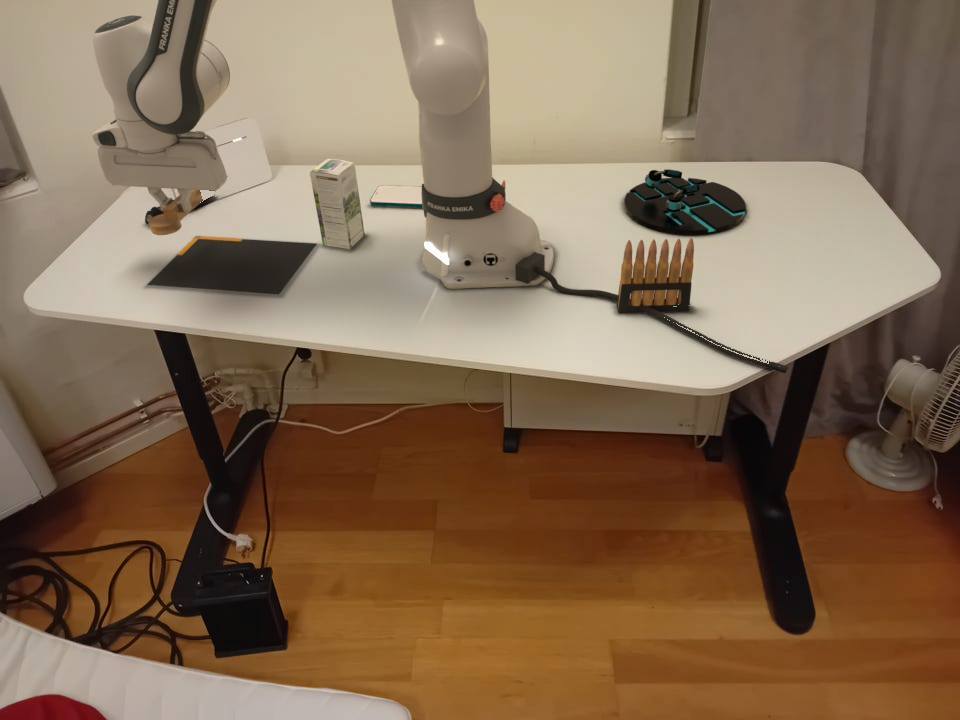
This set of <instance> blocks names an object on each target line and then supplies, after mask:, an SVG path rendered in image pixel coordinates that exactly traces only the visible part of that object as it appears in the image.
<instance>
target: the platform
mask: <svg viewBox="0 0 960 720" xmlns="http://www.w3.org/2000/svg"><path fill="white" fill-rule="evenodd" d="M644 181H645V182H642V183H640V184H637V185H635V186H634V187H632V188H631V189H630V190H629V192H626V195H625V196H624V199H623V200H624V202H623V209H624V211H625V213H626V215H627V217H629V218H630V219H631V220H632V221H633V222H635V223H636V224H638V225H640V226H642V227H644V228H647V229H649V230H652V231H656V232H657V233H658V232H659V233H664V234H669V235H677V236H706V235H707V236H708V235H713V234H717V233H722V232H725V231H727V230H730V229H732V228H734V227H736V226H738V224H739V223H741V222H742V220H743V219H744V217H745V214H746V208H747V204H746V202H745V199H744V198H743V197H742V196H741V194H739V193H738V192H736V191H735V190H734V189H731V188H730V187H728V186H726V185H723V184H721V183H719V182H715V181H710V182H708V181H707V180H706V179H702V178H701V179H700V178H693V177H688V178H687V180H686V179H685V178H683V171H680V170H676V169H671V168H670V169H666V168H665V169H663V170H656V169H651V170H650V171H649V172H648V174H646V175H645V177H644Z"/></svg>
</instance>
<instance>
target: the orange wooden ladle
mask: <svg viewBox="0 0 960 720" xmlns="http://www.w3.org/2000/svg"><path fill="white" fill-rule="evenodd" d="M181 198H182V194H178V195H177V196H176V197H175V198H174V199H173V201H172V202H171V203H170V204H168V205H167V206H166V207H165V208H164V209H163V213H164V214H161V215H157V216H155V217H153V218H152V219H150V221H149V225H148V227H149V230H150V232H151V234H153V235H156V236H168V235H171V234H174V233H177V232H178V231H179V230H181V228H182V226H183V225H182V220H184V218H185V217H186V216H187V215H189V214H190V212H192V211H193V210H194V209H195V208H197V207H198V206H197V205H198V204H199V203H200V202H202V201H203V199H202V196H201V192H200V190H192V193H191V197H190V199H189V200H190V203H191V207H192V208H191V210H190V211H189V212H179V210H178V207H177V205H176V203H177V202H178V201H179V200H180V199H181ZM196 206H197V207H196Z"/></svg>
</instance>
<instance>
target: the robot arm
mask: <svg viewBox="0 0 960 720" xmlns="http://www.w3.org/2000/svg"><path fill="white" fill-rule="evenodd" d="M217 1H218V0H158V1H157V5H156V10H155V15H154V19H153V23H152V22H150V21H149V20H148V19H146V18H145V16H142V15H126V16H123V17H118V18H115V19H114V20H111V21H108V22H106V23H104V24H102V25H101V26H99V27H98V28H97V29H96V30H95V31H94V33H93V36H92V37H93V38H92V43H93V50H94V55H95V60H96V64H97V66H98V70H99V73H100V76H101V79H102V82H103V85H104V88H105V90H106V92H107V93H108V94H109V96H110V97H111V100H112V104H113V114H114V117H115V119H113V120H111V121H109V122H107V123H105V124H104V125H103V126H100V128H98V129H97V130H95V131H94V132H93V133H92V135H91V136H92V140H93V142H94V143H95V145H96V146H98V148H97V156H98V157H97V158H98V161H99V165H100V167H101V170H102V174H103V175H104V178H105V180H106V181H108V183H109V184H111V185H112V186H113V187H135V188H147V191H148V194H149V195H150V196H152V198H154V200H155V201H156V202H157V203H158V205H159V206H160V207H161V210H162V211H163V209H164V208H165V207H166V206H167V205H168V204H170V203H171V202H172V201H173V200H174V199H173V197H168V196H167V195H166V193H165V192H164V191H163V190H162V189H173V190H177V194H178V195H180V194H182V198H181V199H180V200H179V201H178V202H177V203H176V205H177V207H178V210H179V212H189V211H190V210H191V208H192V207H191V203H190V200H189V199H190V197H191V193H192V190H209V191H215V192H217V191H218V190H220V189H221V188H222V187H223V186H224V185H225V183H226V182H227V180H228V175H227V171H226V168H225V165H224V163H223V160H222V158H221V156H220V153H219V151H218V147H217V143H216V141H215V139H214V138H212V137H211V136H210V135H208V134H207V133H206V132H205V131H201V130H196V131H192V130H193V129H195V127H196V126H197V125H198V123H199V122H200V121H201V119H202V117H203V116H204V115H205V114H206V113H207V112H208V111H209V110H210V109H211V108H212V106H213V105H215V103H216V102H217V101H218V100H219V99H220V98H221V97H222V96H223V94H224V93H225V92H226V90H227V89H228V87H229V84H230V80H231V72H230V67H229V65H228V62H227V59H226V57H225V56H224V54H223V53H222V52H221V50H220V49H219V48H218V47H217V46H216V45H214V44H213V43H212V42H210V41H208V40H207V39H206V35H207V30H208V27H209V24H210V19H211V15H212V12H213V10H214V7H215V5H216V3H217ZM391 5H392V10H393V16H394V20H395V25H396V30H397V34H398V40H399V43H400V48H401V53H402V57H403V61H404V66H405V69H406V73H407V78H408V82H409V85H410V88H411V91H412V94H413V96H414V98H415V99H416V101H417V105H418V140H419V150H420V161H421V170H422V171H421V172H422V179H423V180H422V181H423V183H422V184H421V186H422V193H421V196H422V207H423V208H422V210H423V216H424V218H425V239H424V246H423V247H424V249H423V253H422V258H421V264H422V268H423V269H424V270H425V271H426V272H427V273H428V274H430V275H432V276H433V277H436V278H438V279H439V281H440V282H441V283H442V284H443V286H444V287H445V288H446V289H450V290H451V289H453V290H454V289H479V288H481V289H482V288H508V287H531V286H537V285H539V284H541V283H543V281H545V280H547V281H549V282H550V284H551V286H552V288H553V289H554V290H555V291H557V292H559V293H561V294H564V295H570V296H580V297H600V298H603V299H608V300H610V301H614V302H617V300H618V294H616V293H614V292H613V293H612V292H608V291H605V290H600V289H573V288H567V287H565V286H563V285H561V284H559V283H558V280H557V278H556V277H555V276H554V275H552V274H551V272H552V269H553V266H554V262H555V261H554V260H555V259H554V258H555V254H554V249H553V246H552V245H551V243H550V242H549V241H548V240H546V239H541V237H540V232H539V231H540V230H539V228H538V225H537V223H536V221H535V220H534V218H533V217H531V216H529V215H527V214H526V213H524V212H523V211H521V210H520V209H518V208H517V207H516V206H514V205H512V204H511V203H510V202H508V201H507V200H506V196H507V195H506V180H505V179H504V180H503V181H502V183H501V184H500V183H499V182H498V181H497V180H496V179H495V178H494V177H493V160H492V159H493V157H492V135H491V133H492V132H491V130H492V129H491V99H490V95H491V94H490V66H489V63H490V62H489V42H488V35H487V32H486V30H485V27H484V26H483V24H482V22H481V21H480V20H479V18H478V16H477V11H476V6H475V0H391ZM190 212H191V211H190ZM190 212H189V213H190ZM629 306H630V305H629ZM640 306H645V305H643V304H641V305H640ZM641 310H642V311H643V312H646V313H645V314H648V315H649V316H652V317H654V318H656V319H658V320H660V321H661V322H664V323H665V324H668V325H669V326H671V327H673V328H675V329H677V330H678V331H680V332H683V333H684V334H687V335H688V336H690V337H692V338H694V339H696V340H698V341H700V342H701V343H703V344H705V345H707V346H710V347H711V348H713V349H715V350H718V351H720V352H722V353H724V354H727V355H728V356H730V357H734V358H736V359H738V360H740V361H741V360H742V361H745V362H747V363H750V364H754V365H756V366H760V367H763V368H767V369H771V370H774V371H776V372H780V373H783V374H786V373H787V371H788V369H789V366H788V365H785V364H782V363H779V362H775V361H772V362H770V361H771V360H769V364H767V363H768V361H767V363H763V362H760V361H761V360H760V358H761V357H758V356H755V355H752V354H749V353H746V352H743V351H741V350H738V349H735V348H733V349H731V348H732V347H730V346H728V345H726V346H725V344H723V343H721V342H719V341H717V340H715V339H713V338H711V337H709V336H707V335H705V334H704V333H701V332H700V331H698V330H696V329H694V328H692V327H690V328H689V326H688V325H686V326H685V324H684V323H682V322H680V321H678V320H676V319H674V318H672V317H671V316H669V315H667V314H666V313H664V312H659V311H657V310H655V309H653V308H651V307H647V306H645V307H642V308H641ZM664 317H665V318H664ZM667 319H668V320H667ZM669 320H670V321H669ZM673 322H674V323H673ZM679 322H680V323H679ZM676 323H677V324H678V325H680V326H683V327H684V328H686V329H687V328H688V329H689V330H692V332H695V334H694V333H692V332H690V331H688V330H686V329H684V328H682V327H680V326H678V325H677V324H676ZM681 323H682V324H681ZM687 326H688V327H687ZM691 328H692V329H691ZM693 329H694V330H693ZM696 334H698V335H699V336H698V335H696ZM700 336H703V337H704V338H706V339H707V340H709V341H712V342H713V343H715V344H717V345H720V346H721V345H722V346H721V347H720V346H717V345H715V344H713V343H711V342H709V341H707V340H705V339H704V338H702V337H700ZM708 337H709V338H708ZM716 341H717V342H716ZM718 342H719V343H718ZM727 346H728V347H727ZM722 347H725V348H727V349H730V350H732V351H735V352H737V353H739V354H742V355H743V354H744V355H747V356H749V357H752V356H753V358H756V359H758V360H760V361H757V360H754V359H750V358H747V357H744V356H742V355H739V354H736V353H734V352H731V351H729V350H726V349H724V348H722ZM737 350H738V351H737ZM742 352H743V353H742ZM745 353H746V354H745ZM748 354H749V355H748ZM751 355H752V356H751ZM754 356H755V357H754ZM757 357H758V358H757ZM763 359H764V358H762V360H763ZM766 360H767V359H765V361H766ZM779 366H780V367H779Z"/></svg>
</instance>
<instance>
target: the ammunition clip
mask: <svg viewBox="0 0 960 720" xmlns="http://www.w3.org/2000/svg"><path fill="white" fill-rule="evenodd" d="M657 253H658V249H657V242H656V239H652V241H651V242H650V244H649V248H648V253H647V259H646V262H645V242H644V241H643V239H640V241H639V242H638V244H637V247H636V252H635V258H634V263H633V244H632V241H631V240H630V239H628V240H627V241H626V244H625V247H624V251H623V257H622V264H621V269H620V279H619V285H618V292H617V293H618V294H617V295H618V300H617V301H616V309H617V313H618V314H647V313H646V312H643V311H642V310H641V308H642V307H645V306H647V307H651V308H653V309H655V310H657V311H659V312H661V313H688V312H690V306H688V305H691V294H692V279H693V272H694V255H695V242H694V239H693V238H692V237H691V238H689V240H688V241H687V245H686V248H685V253H684V257H683V261H682V241H681V239H680V238H677V240H676V241H675V243H674V246H673V250H672V256H671V260H670V263H669V258H670V257H669V256H670V255H669V254H670V245H669V240H668V239H667V238H665V239H664V240H663V242H662V244H661V249H660V252H659V253H660V254H659V259H658V262H657ZM641 304H643V305H645V306H640V305H641ZM678 304H679V305H678ZM629 305H630V306H629ZM673 306H677V307H673Z"/></svg>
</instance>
